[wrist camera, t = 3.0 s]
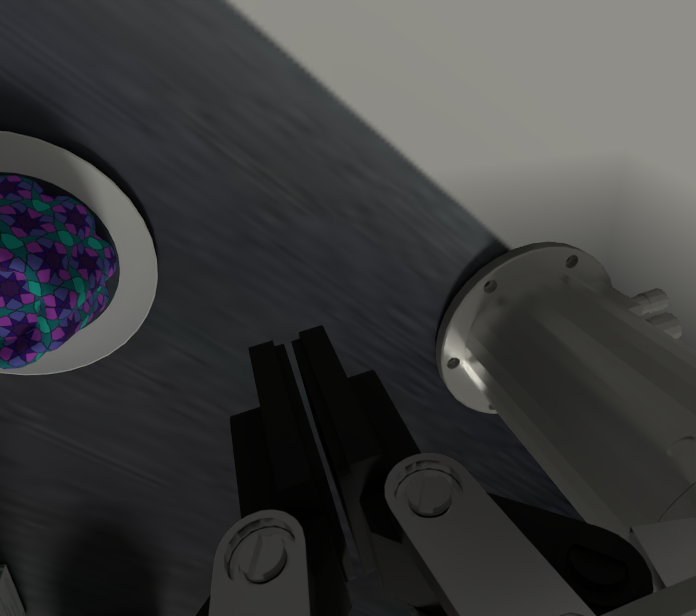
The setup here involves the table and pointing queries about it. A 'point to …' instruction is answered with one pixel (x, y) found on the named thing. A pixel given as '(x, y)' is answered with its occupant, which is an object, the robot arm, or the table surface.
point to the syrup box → (9, 595)
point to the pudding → (66, 261)
